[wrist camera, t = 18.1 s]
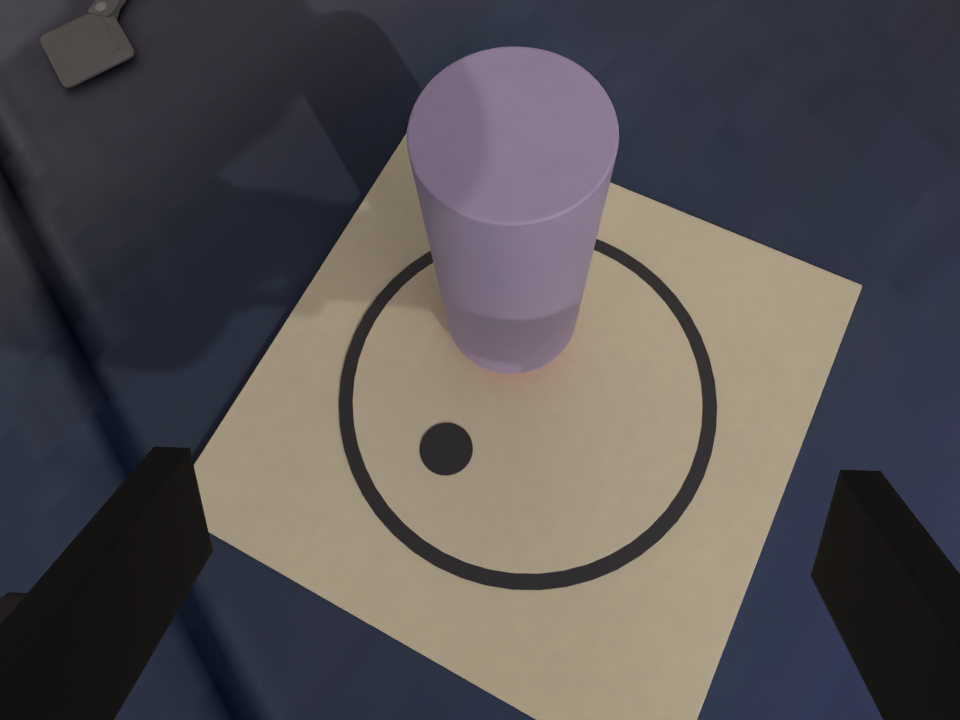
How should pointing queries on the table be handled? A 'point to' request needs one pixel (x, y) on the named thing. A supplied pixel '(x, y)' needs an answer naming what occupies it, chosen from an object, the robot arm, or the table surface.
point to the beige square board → (535, 455)
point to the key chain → (88, 44)
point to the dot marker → (512, 197)
